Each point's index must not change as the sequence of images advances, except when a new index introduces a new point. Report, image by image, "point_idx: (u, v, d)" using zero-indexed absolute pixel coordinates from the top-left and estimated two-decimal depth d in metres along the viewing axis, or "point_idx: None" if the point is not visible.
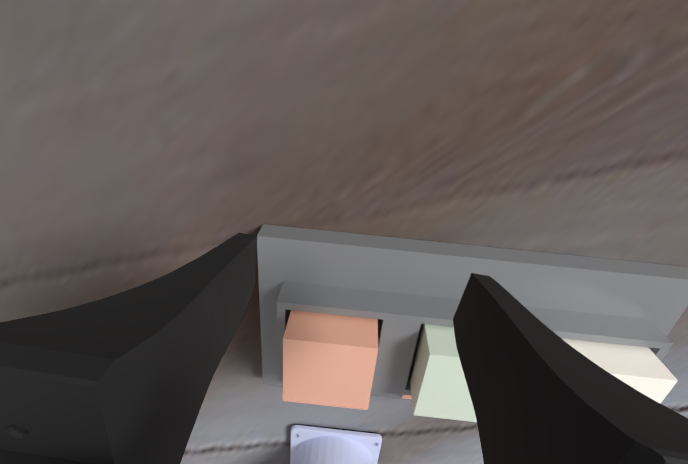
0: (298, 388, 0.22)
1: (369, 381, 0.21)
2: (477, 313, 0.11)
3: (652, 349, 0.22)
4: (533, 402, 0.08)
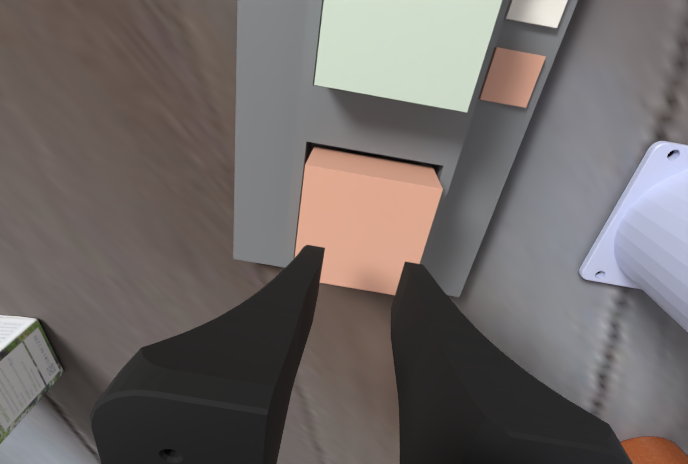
0: (385, 275, 0.16)
1: (374, 181, 0.14)
2: (405, 301, 0.11)
3: None
4: (431, 385, 0.08)
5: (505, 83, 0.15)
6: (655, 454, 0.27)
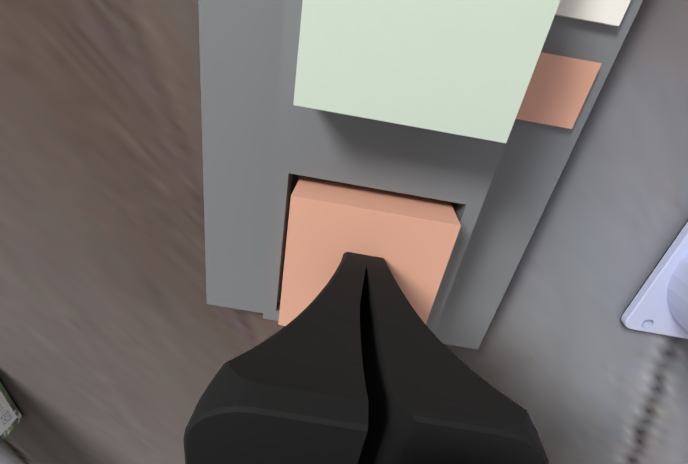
0: None
1: (376, 216, 0.11)
2: (362, 294, 0.11)
3: None
4: (371, 375, 0.08)
5: (546, 98, 0.12)
6: None
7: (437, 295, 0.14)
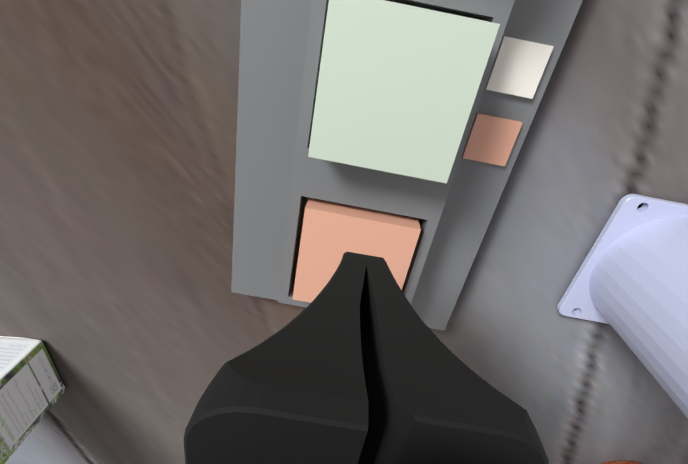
0: None
1: (363, 222, 0.16)
2: (362, 293, 0.11)
3: None
4: (371, 375, 0.08)
5: (485, 145, 0.16)
6: None
7: (409, 285, 0.18)
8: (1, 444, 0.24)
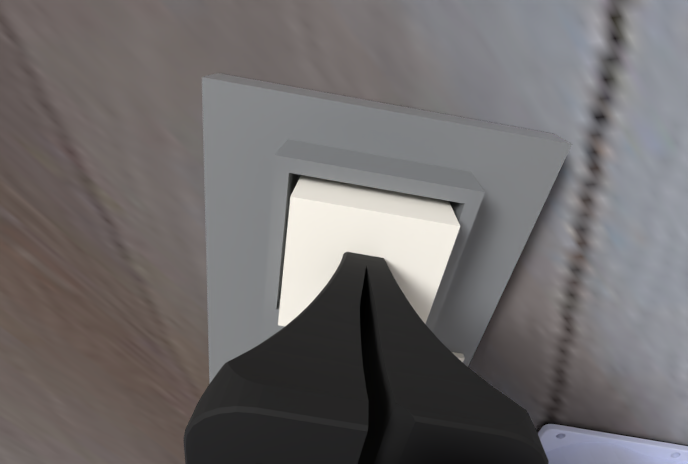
0: None
1: None
2: (362, 293, 0.11)
3: None
4: (371, 376, 0.08)
5: None
6: None
7: None
8: None
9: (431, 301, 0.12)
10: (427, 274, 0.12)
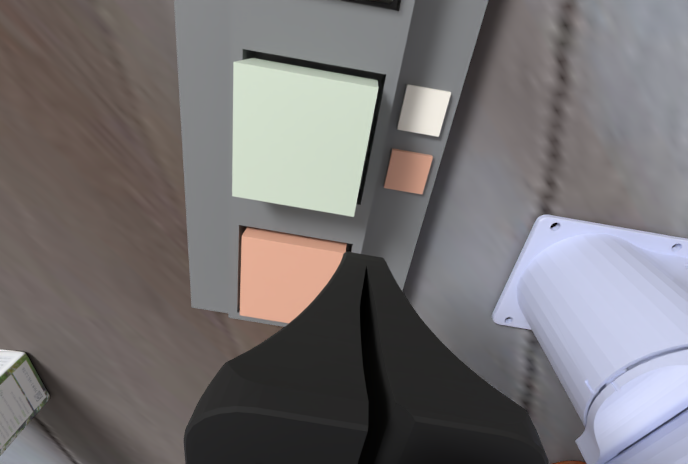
0: None
1: (294, 247, 0.18)
2: (362, 293, 0.11)
3: None
4: (371, 375, 0.08)
5: (403, 176, 0.18)
6: None
7: None
8: None
9: None
10: None
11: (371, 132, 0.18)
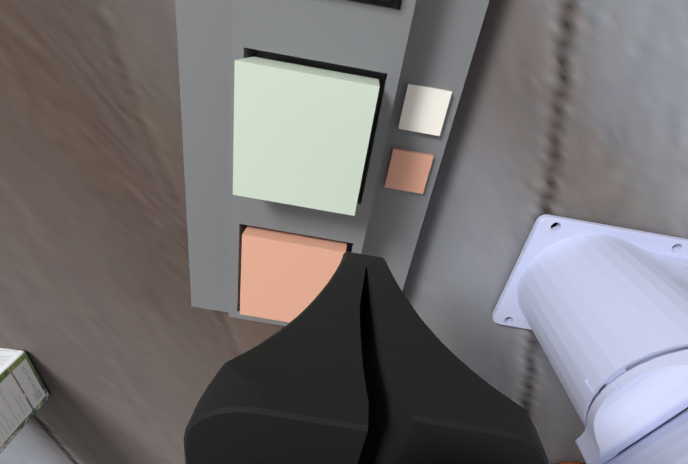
0: None
1: (294, 246, 0.18)
2: (362, 293, 0.11)
3: None
4: (371, 375, 0.08)
5: (403, 175, 0.18)
6: None
7: None
8: None
9: None
10: None
11: (372, 131, 0.18)
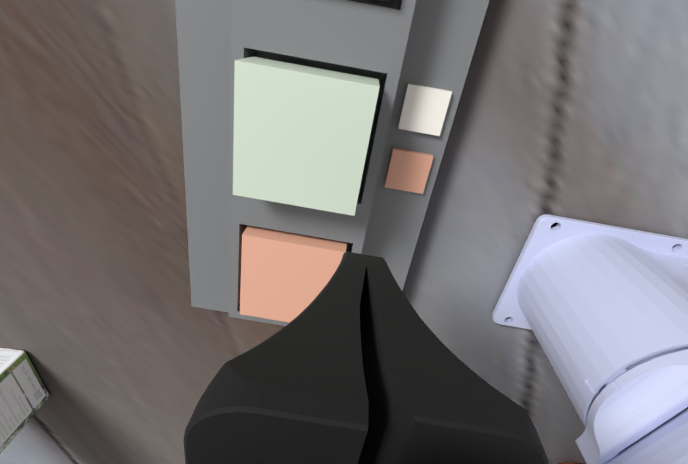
0: None
1: (294, 246, 0.18)
2: (362, 293, 0.11)
3: None
4: (371, 375, 0.08)
5: (403, 175, 0.18)
6: None
7: None
8: None
9: None
10: None
11: (372, 131, 0.18)
